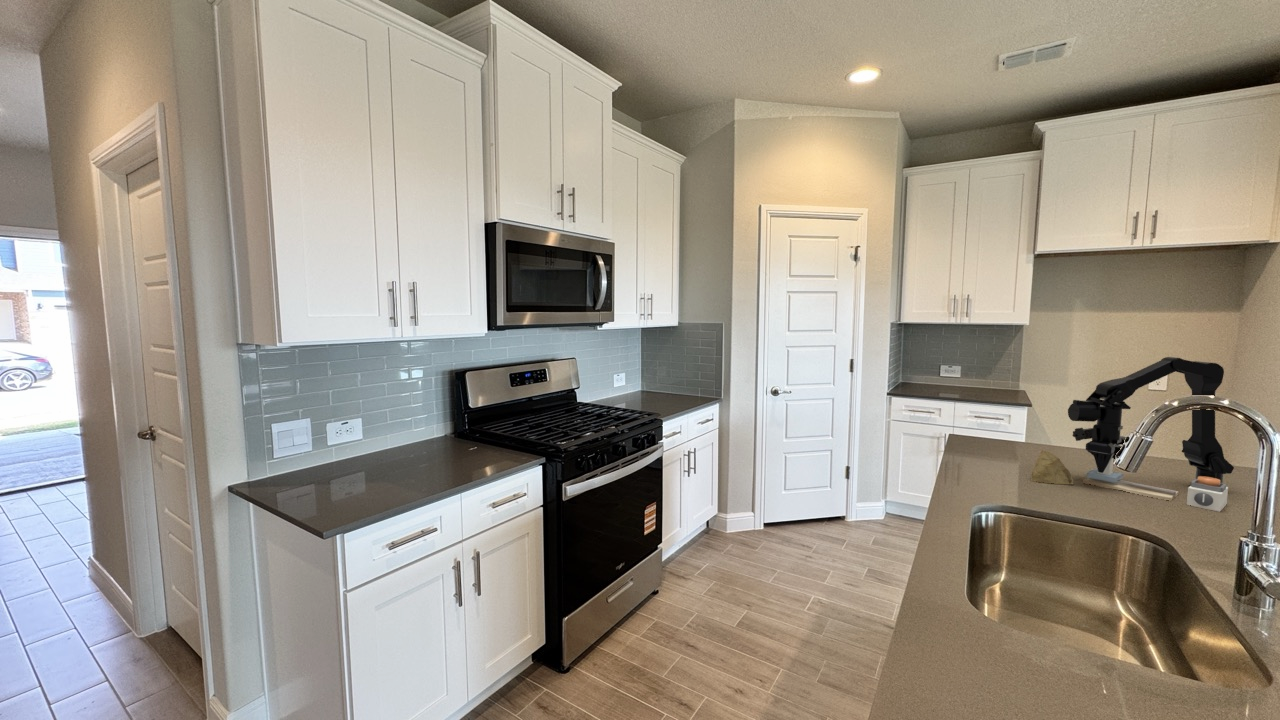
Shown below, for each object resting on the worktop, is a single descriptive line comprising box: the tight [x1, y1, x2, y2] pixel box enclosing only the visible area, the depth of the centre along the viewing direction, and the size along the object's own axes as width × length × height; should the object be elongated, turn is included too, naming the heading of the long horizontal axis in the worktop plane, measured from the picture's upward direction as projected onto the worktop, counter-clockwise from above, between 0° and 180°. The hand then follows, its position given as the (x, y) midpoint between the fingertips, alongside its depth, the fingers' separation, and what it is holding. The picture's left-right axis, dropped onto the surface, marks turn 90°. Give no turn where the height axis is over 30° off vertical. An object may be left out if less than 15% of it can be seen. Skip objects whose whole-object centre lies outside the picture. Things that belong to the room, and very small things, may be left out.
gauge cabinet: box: [1186, 478, 1229, 513], centre depth 148 cm, size 10×6×6 cm, turn 124°
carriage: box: [1086, 458, 1124, 482], centre depth 166 cm, size 8×7×6 cm
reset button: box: [1197, 476, 1221, 486], centre depth 147 cm, size 4×4×1 cm
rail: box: [1082, 476, 1180, 502], centre depth 162 cm, size 10×20×2 cm, turn 34°
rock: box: [1030, 450, 1074, 485], centre depth 167 cm, size 11×9×10 cm
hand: (1105, 469), depth 166 cm, fingers open, 9 cm apart
